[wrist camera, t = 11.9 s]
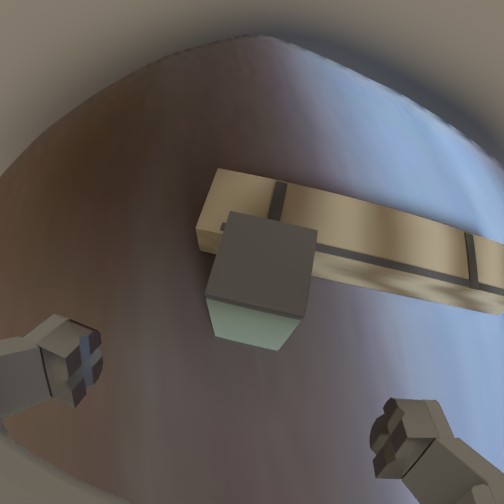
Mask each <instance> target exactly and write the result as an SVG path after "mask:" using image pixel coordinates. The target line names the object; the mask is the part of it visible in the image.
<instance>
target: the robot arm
mask: <svg viewBox="0 0 504 504" xmlns="http://www.w3.org/2000/svg"><path fill="white" fill-rule="evenodd" d="M101 343H102V342H101V333H100V332H99V331H98V330H96V329H93V328H91V327H88V326H86V325H83V324H81V323H78V322H76V321H74V320H71V319H68V318H66V317H64V316H61V315H59V314H53V315H52V316H51V317H49V318H48V319H47V320H45V321H44V322H43V323H41V324H40V325H39V326H38V327H36V328H35V329H34V330H32V331H31V332H30V333H29V334H27V335H26V336H25V337H23V338H21V337H19V336H18V337H13V338H8V339H3V340H0V504H135V503H133V502H130V501H127V500H125V499H122V498H120V497H117V496H115V495H113V494H110V493H108V492H106V491H103V490H101V489H99V488H97V487H94V486H92V485H90V484H88V483H86V482H84V481H82V480H80V479H78V478H76V477H74V476H72V475H70V474H68V473H66V472H64V471H63V470H61V469H59V468H57V467H55V466H53V465H52V464H50V463H48V462H46V461H45V460H43V459H41V458H40V457H38V456H36V455H35V454H33V453H32V452H30V451H28V450H27V449H25V448H24V447H22V446H21V445H19V444H18V443H16V442H15V441H13V440H12V439H10V438H9V437H7V436H8V432H7V429H6V427H5V425H4V423H3V421H2V419H3V418H5V417H8V416H10V415H13V414H15V413H18V412H20V411H22V410H25V409H27V408H30V407H32V406H34V405H37V404H39V403H42V402H44V401H46V400H49V399H51V397H52V398H55V399H57V400H59V401H61V402H63V403H65V404H67V405H69V406H72V407H74V408H76V406H77V405H78V404H79V403H80V401H81V400H82V399H83V398H84V396H85V395H86V387H88V386H91V385H94V384H95V383H96V381H97V380H98V379H99V376H100V374H101V371H102V366H103V356H102V354H101V352H100V351H99V349H98V347H99V346H100V344H101ZM383 410H384V413H385V414H383V415H382V416H380V417H378V418H377V419H376V421H375V422H374V424H373V426H372V429H371V433H370V448H371V450H372V451H373V452H374V453H375V454H376V456H375V458H374V459H373V465H374V471H375V477H376V478H379V479H402V481H403V483H404V484H405V485H406V486H407V488H408V489H409V490H410V492H411V493H412V494H413V495H414V497H415V498H416V499H417V500H418V502H419V503H420V504H504V473H503V472H501V471H500V470H499V469H497V468H496V467H495V466H494V465H492V464H491V463H490V462H489V461H487V460H486V459H485V458H483V457H482V456H481V455H480V454H478V453H477V452H476V451H475V450H473V449H472V448H471V447H470V446H468V445H467V444H466V443H465V442H463V441H462V440H461V439H460V438H455V437H454V435H453V433H452V431H451V428H450V426H449V424H448V421H447V419H446V417H445V415H444V413H443V410H442V408H441V406H440V404H439V402H437V401H436V400H414V399H400V398H390V399H389V400H388V401H387V402H386V404H385V405H384V407H383Z"/></svg>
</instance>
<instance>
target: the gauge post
mask: <svg viewBox="0 0 504 504" xmlns="http://www.w3.org/2000/svg"><path fill="white" fill-rule="evenodd" d="M317 234H318V230H314V229H310V228H306V227H301V226H297V225H293V224H288V223H284V222H280V221H275V220H271V219H266V218H262V217H257V216H253V215H248V214H243V213H239V212H234V211H230V212H229V215H228V219H227V222H226V225H225V228H224V231H223V234H222V238H221V241H220V244H219V247H218V251H217V254H216V257H215V260H214V264H213V267H212V270H211V273H210V277H209V280H208V283H207V287H206V290H205V297H206V302H207V306H208V310H209V314H210V318H211V322H212V326H213V330H214V334H215V336H216V337H220V338H224V339H228V340H233V341H237V342H241V343H245V344H250V345H254V346H258V347H263V348H268V349H272V350H277V351H278V350H279V349H280V347H281V346H282V345H283V344H284V342H285V341H286V340H287V338H288V337H289V336H290V335H291V333H292V332H293V331H294V329H295V328H296V327H297V325H298V324H299V323H300V321H301V320H302V319H303V317H304V316H305V310H306V304H307V298H308V293H309V286H310V280H311V274H312V268H313V261H314V255H315V248H316V241H317Z"/></svg>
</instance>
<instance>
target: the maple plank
mask: <svg viewBox="0 0 504 504" xmlns="http://www.w3.org/2000/svg"><path fill="white" fill-rule="evenodd" d="M230 211H234V212H239V213H243V214H248V215H253V216H257V217H262V218H266V219H271V220H275V221H280V222H284V223H288V224H293V225H297V226H301V227H306V228H310V229H314V230H318V234H317V241H316V248H315V255H314V261H313V268H312V274H311V276H315V277H319V278H324V279H328V280H333V281H338V282H342V283H347V284H351V285H356V286H361V287H365V288H370V289H375V290H379V291H384V292H389V293H393V294H398V295H403V296H407V297H412V298H417V299H422V300H426V301H431V302H436V303H441V304H445V305H450V306H455V307H460V308H465V309H470V310H474V311H479V312H484V313H489V314H494V315H499V314H501V313H503V312H504V245H503V244H500V243H498V242H495V241H492V240H489V239H486V238H483V237H481V236H478V235H475V234H472V233H469V232H466V231H463V230H460V229H457V228H454V227H451V226H448V225H445V224H441V223H438V222H435V221H432V220H429V219H425V218H422V217H419V216H416V215H412V214H409V213H405V212H402V211H399V210H395V209H392V208H388V207H384V206H381V205H377V204H374V203H370V202H366V201H362V200H359V199H355V198H351V197H347V196H343V195H339V194H335V193H331V192H327V191H323V190H319V189H315V188H310V187H306V186H302V185H297V184H293V183H288V182H284V181H279V180H275V179H270V178H265V177H260V176H256V175H251V174H246V173H241V172H235V171H230V170H225V169H220V168H218V169H217V172H216V174H215V177H214V180H213V182H212V185H211V188H210V190H209V193H208V196H207V198H206V201H205V204H204V206H203V209H202V212H201V215H200V217H199V220H198V223H197V226H196V233H197V239H198V244H199V249H200V251H203V252H208V253H212V254H217V251H218V247H219V244H220V241H221V238H222V234H223V231H224V228H225V225H226V222H227V219H228V215H229V212H230Z"/></svg>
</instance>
